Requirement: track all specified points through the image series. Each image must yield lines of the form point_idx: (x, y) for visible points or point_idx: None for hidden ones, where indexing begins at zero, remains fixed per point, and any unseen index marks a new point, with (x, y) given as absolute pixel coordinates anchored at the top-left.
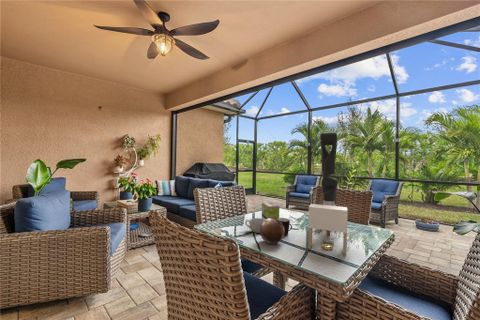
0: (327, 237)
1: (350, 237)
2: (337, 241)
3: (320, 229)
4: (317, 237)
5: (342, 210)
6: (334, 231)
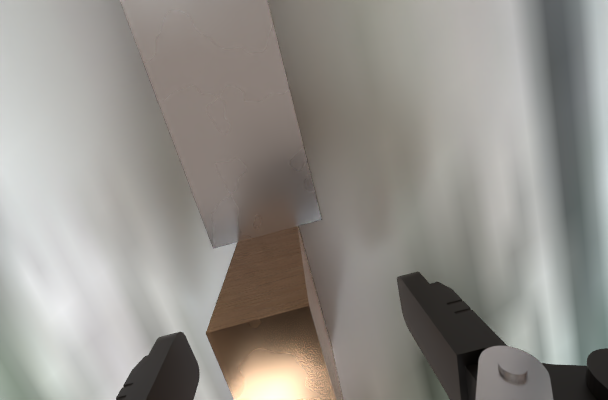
0: (232, 89)
1: (18, 392)
2: (58, 82)
3: (431, 284)
4: (396, 55)
5: None
6: (170, 342)
